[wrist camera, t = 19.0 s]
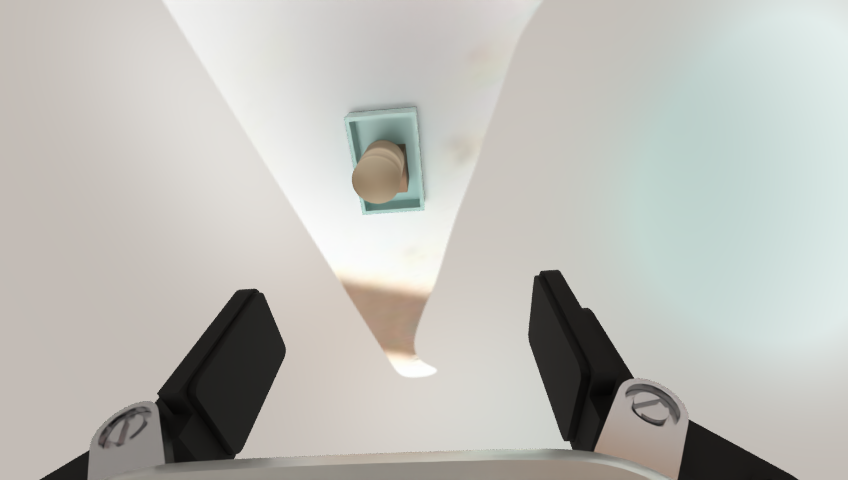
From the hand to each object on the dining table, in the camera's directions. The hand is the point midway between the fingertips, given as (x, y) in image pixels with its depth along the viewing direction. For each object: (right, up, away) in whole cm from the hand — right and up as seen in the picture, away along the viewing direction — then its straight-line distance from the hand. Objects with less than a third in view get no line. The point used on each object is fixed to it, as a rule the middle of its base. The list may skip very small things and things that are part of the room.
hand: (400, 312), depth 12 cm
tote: (-3, +12, +26) cm, 29 cm away
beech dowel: (-3, +10, +21) cm, 24 cm away
